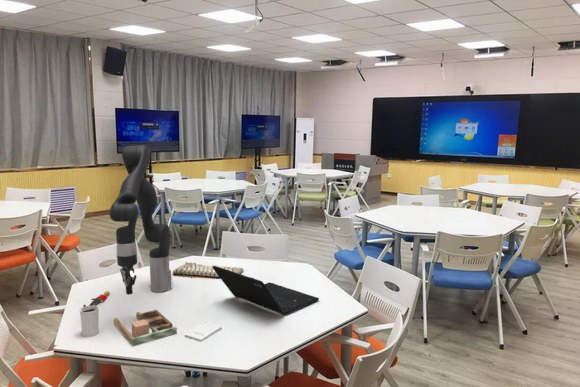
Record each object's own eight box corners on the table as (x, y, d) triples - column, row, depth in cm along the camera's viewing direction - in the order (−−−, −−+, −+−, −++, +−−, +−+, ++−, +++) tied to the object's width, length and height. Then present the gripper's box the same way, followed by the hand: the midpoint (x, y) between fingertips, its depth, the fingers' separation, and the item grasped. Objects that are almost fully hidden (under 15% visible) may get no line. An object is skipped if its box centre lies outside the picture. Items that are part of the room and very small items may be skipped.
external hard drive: (221, 330, 176) (201, 343, 165) (205, 325, 179) (184, 338, 169) (221, 326, 175) (201, 339, 165) (205, 321, 179) (184, 334, 168)
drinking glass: (87, 328, 174) (85, 305, 173) (103, 329, 174) (101, 305, 172) (77, 336, 168) (75, 311, 166) (94, 337, 167) (92, 312, 166)
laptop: (319, 301, 205) (320, 261, 202) (261, 327, 178) (261, 281, 175) (269, 284, 227) (269, 248, 225) (211, 305, 200) (210, 264, 197)
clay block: (144, 331, 173) (144, 319, 172) (149, 336, 169) (148, 323, 168) (131, 334, 170) (131, 322, 169) (136, 339, 166) (135, 327, 165)
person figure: (83, 300, 193) (104, 286, 210) (80, 308, 193) (102, 293, 211) (93, 304, 192) (114, 289, 210) (91, 312, 193) (112, 297, 211)
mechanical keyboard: (245, 270, 251) (245, 264, 250) (236, 282, 232) (235, 275, 232) (183, 266, 257) (183, 261, 257) (169, 277, 239) (168, 271, 238)
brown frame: (154, 313, 189) (154, 308, 189) (176, 333, 171) (176, 327, 171) (113, 324, 179) (113, 318, 179) (132, 346, 161) (132, 339, 160)
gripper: (142, 255, 172) (144, 296, 175) (130, 247, 183) (133, 286, 185) (122, 258, 168) (125, 301, 171) (112, 250, 178) (114, 291, 181)
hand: (129, 293), depth 178 cm, fingers closed
